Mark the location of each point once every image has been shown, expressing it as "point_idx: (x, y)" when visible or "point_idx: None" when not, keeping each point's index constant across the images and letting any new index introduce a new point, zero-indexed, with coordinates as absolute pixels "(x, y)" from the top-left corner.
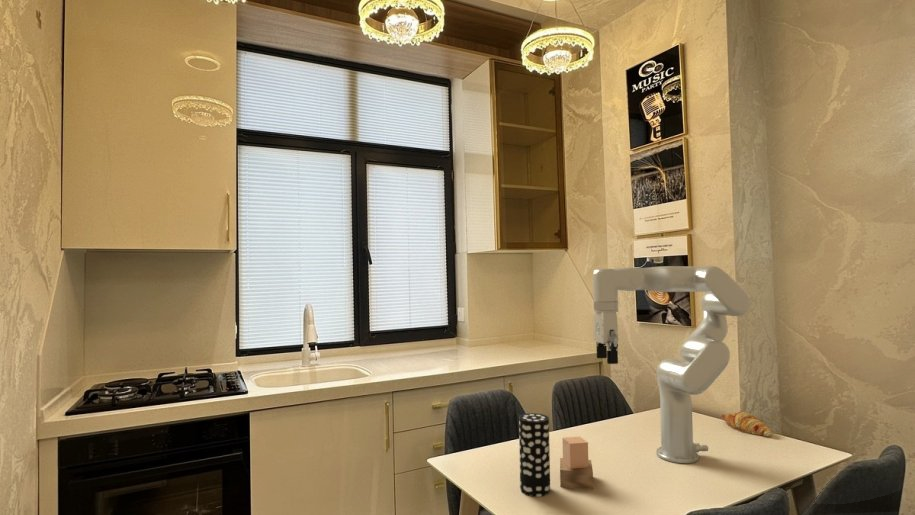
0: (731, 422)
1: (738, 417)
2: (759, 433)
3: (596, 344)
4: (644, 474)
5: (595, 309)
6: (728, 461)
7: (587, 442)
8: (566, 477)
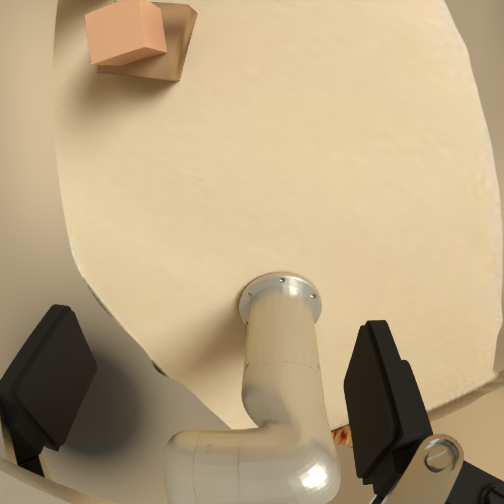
0: None
1: None
2: (339, 430)
3: (451, 443)
4: (186, 202)
5: None
6: None
7: (91, 63)
8: None
